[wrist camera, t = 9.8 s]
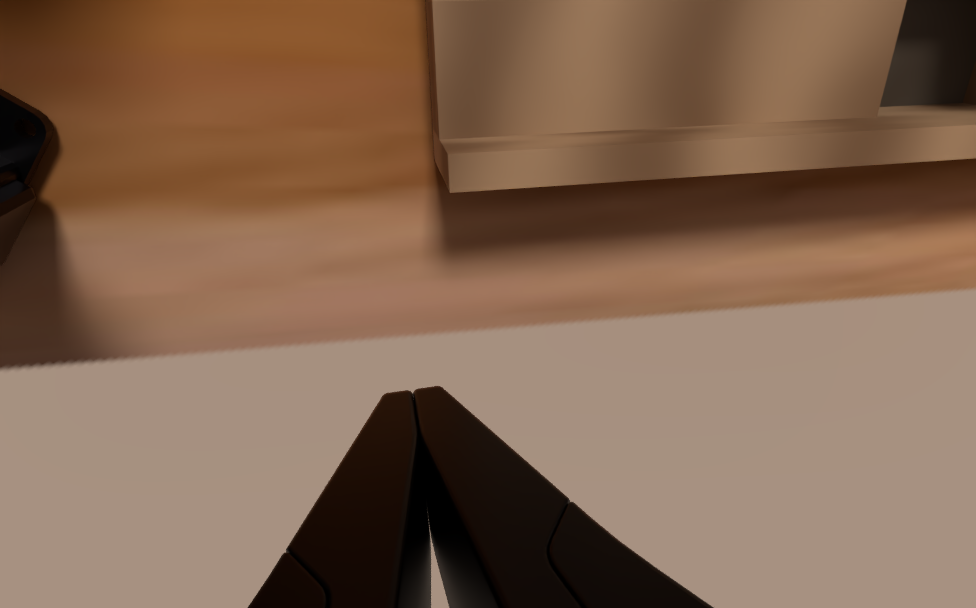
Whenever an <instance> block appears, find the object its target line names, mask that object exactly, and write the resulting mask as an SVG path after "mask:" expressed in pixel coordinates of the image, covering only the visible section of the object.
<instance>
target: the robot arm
mask: <svg viewBox="0 0 976 608" xmlns="http://www.w3.org/2000/svg"><path fill="white" fill-rule="evenodd" d="M23 119H26V120H29V121H30V122H31V123H33V124H34V126H35V128H36V134H35V135H30V134H28V133H27V132H26V131H25V130H24V129H23V127H22V120H23ZM52 133H53V128H52V123H51V122H50V120H49V119H48V117H47V116H46V115H45V114H43V113H42V112H41V111H39V110H37V109H36V108H34V107H32V106H30V105H29V104H27V103H25V102H23V101H21V100H20V99H18V98H16V97H14V96H12V95H11V94H9V93H7V92H5V91H4V90H2V89H0V266H1V265H2V264H3V263H4V262H5V260H6V258H7V256H8V254H9V252H10V250H11V248H12V246H13V244H14V242H15V240H16V238H17V236H18V234H19V232H20V230H21V228H22V226H23V224H24V222H25V220H26V218H27V216H28V214H29V212H30V210H31V208H32V206H33V204H34V202H35V200H36V196H35V193H34V190H33V188H32V187H30V186H28V184H29V182H30V180H31V178H32V176H33V174H34V172H35V170H36V168H37V166H38V164H39V162H40V160H41V158H42V156H43V154H44V152H45V150H46V148H47V146H48V144H49V141H50V139H51V137H52ZM427 511H428V512H427ZM428 519H429V521H428ZM429 525H430V532H431V538H432V543H433V547H434V551H435V555H436V559H437V563H438V566H439V570H440V574H441V578H442V581H443V585H444V589H445V592H446V596H447V600H448V604H449V607H450V608H713V607H712V606H711V605H709V604H707V603H706V602H704V601H703V600H702V599H700V598H699V597H697V596H696V595H695V594H693V593H692V592H690V591H689V590H687V589H686V588H684V587H683V586H682V585H680V584H678V583H677V582H676V581H674V580H673V579H671V578H670V577H669V576H667V575H666V574H664V573H663V572H661V571H660V570H658V569H657V568H655V567H654V566H653V565H651V564H650V563H649V562H647V561H646V560H645V559H643V558H642V557H641V556H639V555H638V554H636V553H635V552H634V551H632V550H631V549H629V548H628V547H627V546H625V545H624V544H623V543H621V542H620V541H619V540H618V539H616V538H615V537H614V536H613V535H611V534H610V533H609V532H608V531H606V530H605V529H604V528H603V527H602V526H600V525H599V524H598V523H597V522H595V521H594V520H593V519H592V518H591V517H590V516H588V515H587V514H586V513H585V512H584V511H583V510H582V509H580V508H579V507H578V506H577V505H576V504H575V503H573V502H570V500H569V498H568V497H566V496H565V495H564V494H563V493H562V492H561V491H560V490H559V489H557V488H556V487H555V486H554V485H553V484H552V483H551V482H549V481H548V480H547V479H546V478H545V477H544V476H543V475H541V474H540V473H539V472H538V471H537V470H536V469H534V468H533V467H532V466H531V465H530V464H529V463H528V462H527V461H525V460H524V459H523V458H522V457H521V456H520V455H519V454H517V453H516V452H515V451H514V450H513V449H512V448H511V447H509V446H508V445H507V444H506V443H505V442H504V441H503V440H501V439H500V438H499V437H498V436H497V435H495V433H493V432H492V431H491V430H490V429H489V428H488V427H487V426H485V425H484V424H483V423H482V422H481V421H480V420H479V419H478V418H476V417H475V416H474V415H473V414H472V413H471V412H470V411H468V410H467V409H466V408H465V407H464V406H463V405H461V404H460V403H459V402H458V401H457V400H456V399H455V398H454V397H452V396H451V395H450V394H449V393H448V392H447V391H446V390H444V389H443V388H442V387H440V386H434V387H427V388H421V389H416V390H415V391H414V393H413V394H412V392H411V391H408V390H406V391H399V392H392V393H386V394H384V395H383V396H382V398H381V400H380V401H379V403H378V404H377V406H376V407H375V409H374V411H373V412H372V414H371V415H370V417H369V419H368V420H367V422H366V423H365V425H364V426H363V428H362V430H361V431H360V433H359V434H358V436H357V438H356V439H355V441H354V442H353V444H352V446H351V447H350V449H349V450H348V452H347V453H346V455H345V457H344V458H343V460H342V462H341V463H340V465H339V466H338V468H337V469H336V471H335V473H334V474H333V476H332V477H331V479H330V481H329V482H328V484H327V485H326V487H325V489H324V490H323V492H322V493H321V495H320V497H319V498H318V500H317V501H316V503H315V504H314V506H313V508H312V509H311V511H310V512H309V514H308V515H307V517H306V519H305V520H304V522H303V524H302V525H301V527H300V528H299V530H298V532H297V533H296V535H295V536H294V538H293V540H292V541H291V543H290V544H289V546H288V547H287V549H286V553H284V554H283V555H282V556H281V558H280V559H279V561H278V563H277V564H276V566H275V568H274V569H273V571H272V572H271V574H270V575H269V577H268V579H267V580H266V581H265V583H264V584H263V586H262V587H261V589H260V590H259V592H258V593H257V595H256V596H255V598H254V599H253V601H252V602H251V604H250V605H249V607H248V608H431V545H430V532H429Z"/></svg>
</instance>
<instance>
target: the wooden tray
mask: <svg viewBox="0 0 976 608" xmlns="http://www.w3.org/2000/svg"><path fill="white" fill-rule="evenodd" d="M425 2H426V20H427V37H428V55H429V73H430V91H431V108H432V126H433V144H434V160H435V162H436V165H437V167H438V169H439V171H440V173H441V175H442V177H443V180H444V182H445V184H446V186H447V188H448V190H449V192H450V193H456V192H471V191H486V190H501V189H516V188H532V187H547V186H562V185H577V184H592V183H608V182H623V181H638V180H653V179H669V178H684V177H699V176H714V175H729V174H745V173H760V172H775V171H790V170H805V169H821V168H836V167H851V166H866V165H882V164H897V163H912V162H927V161H942V160H958V159H973V158H976V0H425Z"/></svg>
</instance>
